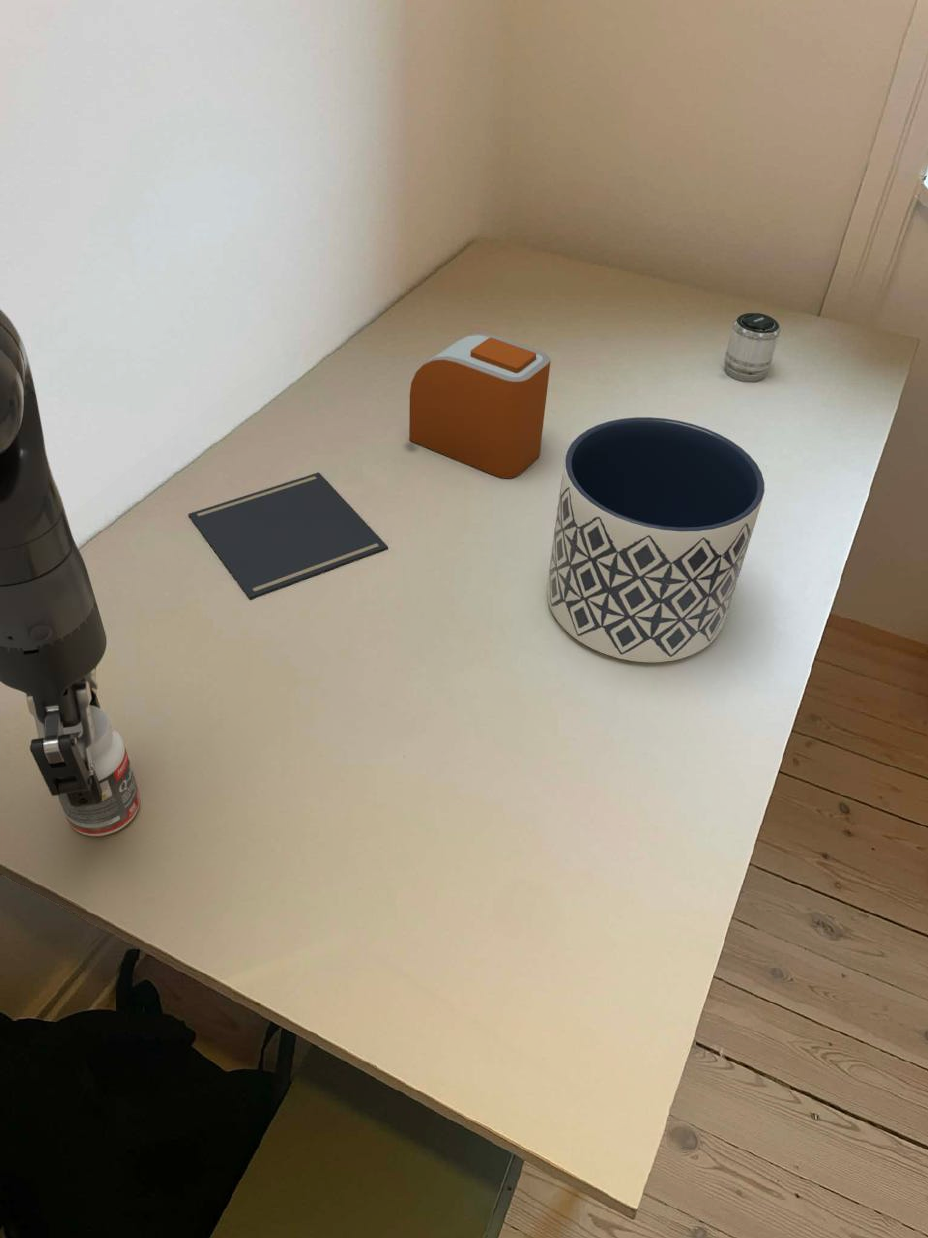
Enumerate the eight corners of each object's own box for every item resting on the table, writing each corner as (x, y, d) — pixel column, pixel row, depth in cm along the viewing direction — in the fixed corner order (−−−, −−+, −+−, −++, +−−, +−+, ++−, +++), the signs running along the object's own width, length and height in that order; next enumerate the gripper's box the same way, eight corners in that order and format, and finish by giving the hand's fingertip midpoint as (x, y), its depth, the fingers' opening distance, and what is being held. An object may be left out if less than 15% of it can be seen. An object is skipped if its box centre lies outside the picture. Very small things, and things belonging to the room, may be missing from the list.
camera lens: (712, 369, 136) (725, 316, 131) (740, 356, 139) (753, 304, 134) (749, 388, 133) (764, 334, 127) (776, 374, 136) (791, 321, 130)
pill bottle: (148, 824, 77) (123, 744, 70) (74, 849, 75) (41, 769, 68) (133, 771, 81) (108, 691, 74) (62, 794, 79) (30, 713, 72)
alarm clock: (547, 451, 119) (559, 349, 110) (511, 483, 114) (520, 379, 104) (447, 412, 125) (451, 312, 115) (408, 440, 119) (409, 338, 110)
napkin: (249, 599, 97) (249, 597, 97) (188, 515, 106) (187, 513, 106) (388, 548, 104) (388, 546, 104) (319, 474, 113) (318, 471, 113)
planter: (743, 581, 102) (785, 449, 91) (694, 692, 90) (736, 556, 79) (583, 528, 108) (604, 398, 97) (517, 627, 96) (533, 490, 84)
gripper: (-17, 542, 67) (44, 703, 78) (-45, 692, 57) (30, 853, 68) (97, 530, 69) (140, 690, 80) (89, 674, 58) (140, 834, 70)
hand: (89, 764), depth 74 cm, fingers open, 6 cm apart
